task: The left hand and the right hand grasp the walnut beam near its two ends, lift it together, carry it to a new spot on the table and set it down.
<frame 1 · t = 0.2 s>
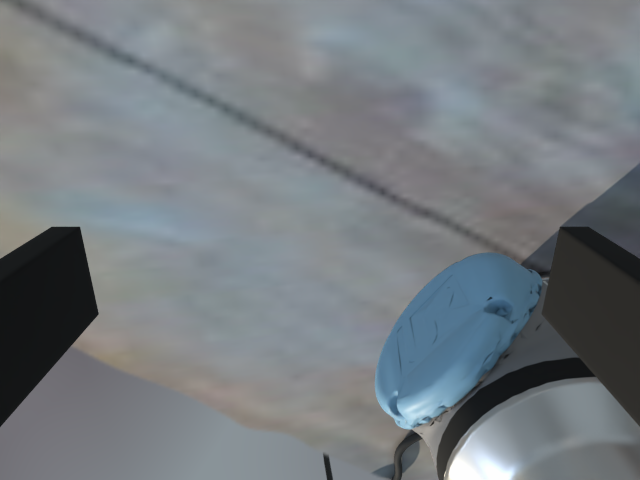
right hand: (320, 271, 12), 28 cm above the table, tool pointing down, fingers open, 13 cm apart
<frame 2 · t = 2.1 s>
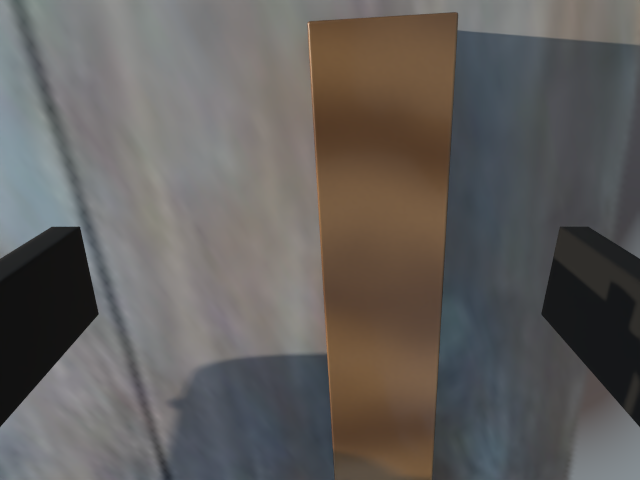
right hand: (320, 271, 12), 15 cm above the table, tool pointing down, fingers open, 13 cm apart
beam: (368, 384, 32), on the table
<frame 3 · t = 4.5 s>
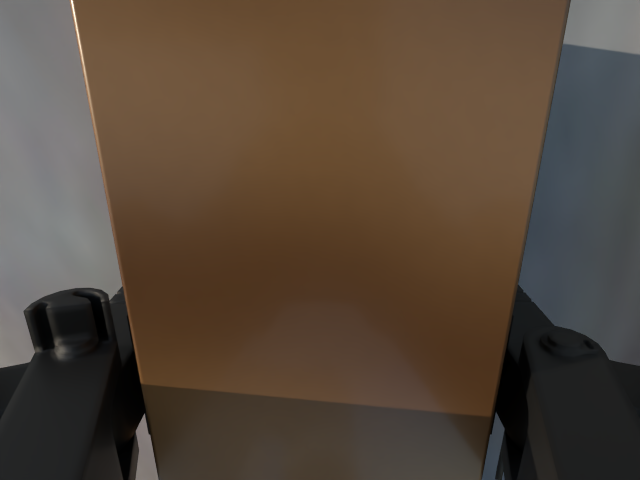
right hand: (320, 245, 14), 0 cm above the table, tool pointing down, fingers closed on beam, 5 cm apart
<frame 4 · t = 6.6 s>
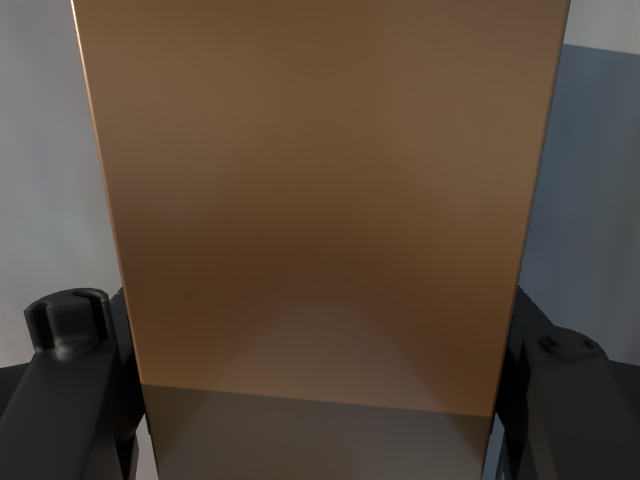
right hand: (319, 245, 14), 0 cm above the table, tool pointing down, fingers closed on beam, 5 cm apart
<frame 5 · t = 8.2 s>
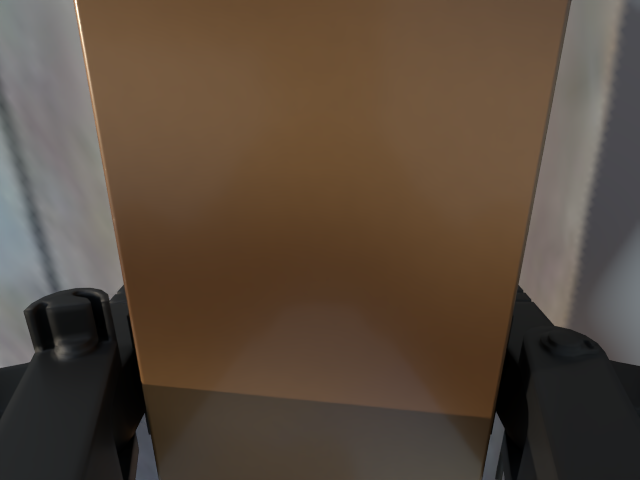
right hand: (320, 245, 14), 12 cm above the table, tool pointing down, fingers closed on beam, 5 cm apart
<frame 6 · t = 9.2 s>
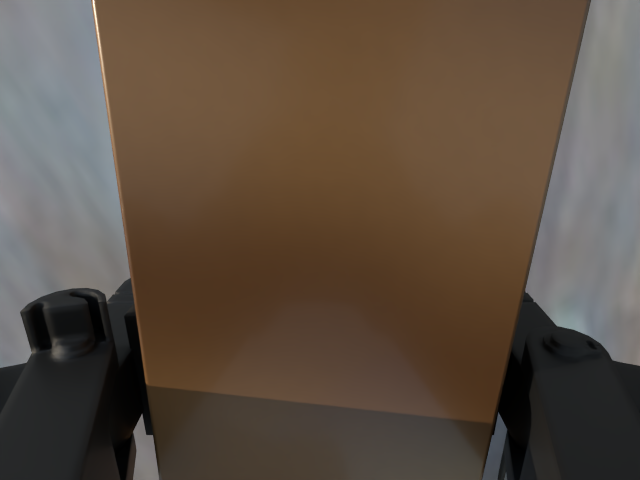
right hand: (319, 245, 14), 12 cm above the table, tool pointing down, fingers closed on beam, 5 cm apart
when the left hand's fingers open (2 cm above the table, at t = 12.1 s): beam drops 1 cm, on the table.
when the right hand's fingers open (2 cm above the table, at t = 12.1 s): beam drops 1 cm, on the table.
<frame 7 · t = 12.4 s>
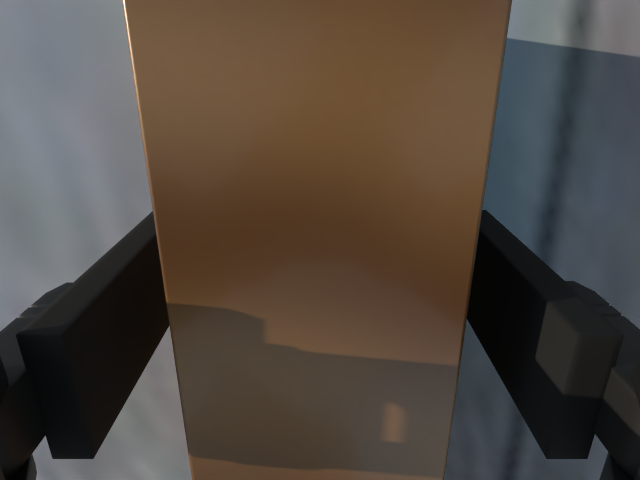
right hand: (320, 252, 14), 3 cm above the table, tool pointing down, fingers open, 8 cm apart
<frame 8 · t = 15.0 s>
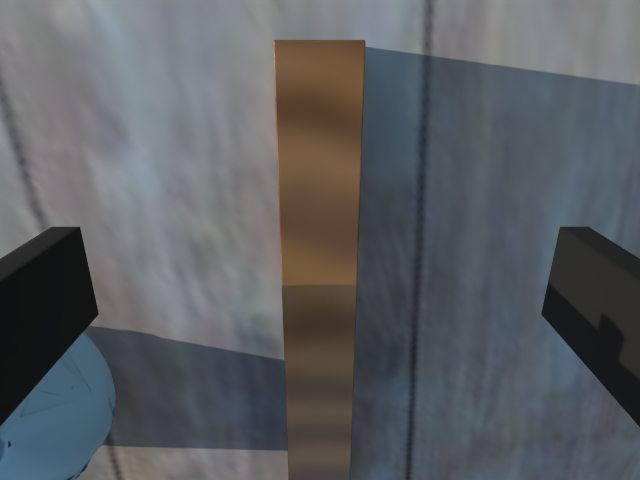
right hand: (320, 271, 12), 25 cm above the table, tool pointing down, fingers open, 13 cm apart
beam: (319, 314, 42), on the table
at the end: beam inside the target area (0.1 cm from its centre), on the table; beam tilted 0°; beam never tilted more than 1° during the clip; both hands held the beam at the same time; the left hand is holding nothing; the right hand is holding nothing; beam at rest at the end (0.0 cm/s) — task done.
